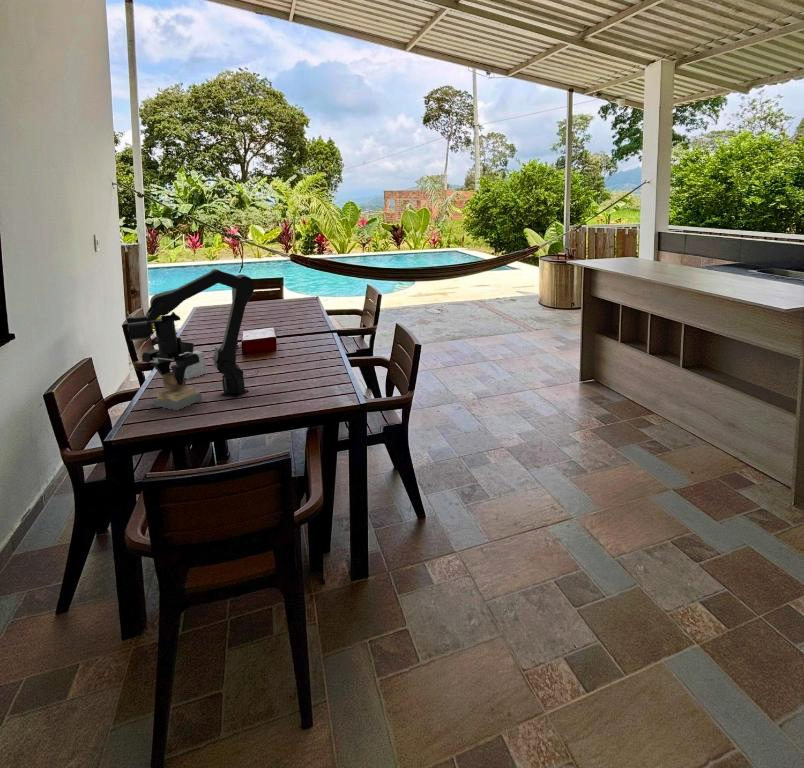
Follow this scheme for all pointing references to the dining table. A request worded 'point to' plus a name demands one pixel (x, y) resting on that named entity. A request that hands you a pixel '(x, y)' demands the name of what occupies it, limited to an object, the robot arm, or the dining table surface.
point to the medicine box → (196, 367)
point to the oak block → (176, 393)
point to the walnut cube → (172, 381)
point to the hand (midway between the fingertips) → (175, 384)
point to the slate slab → (178, 404)
